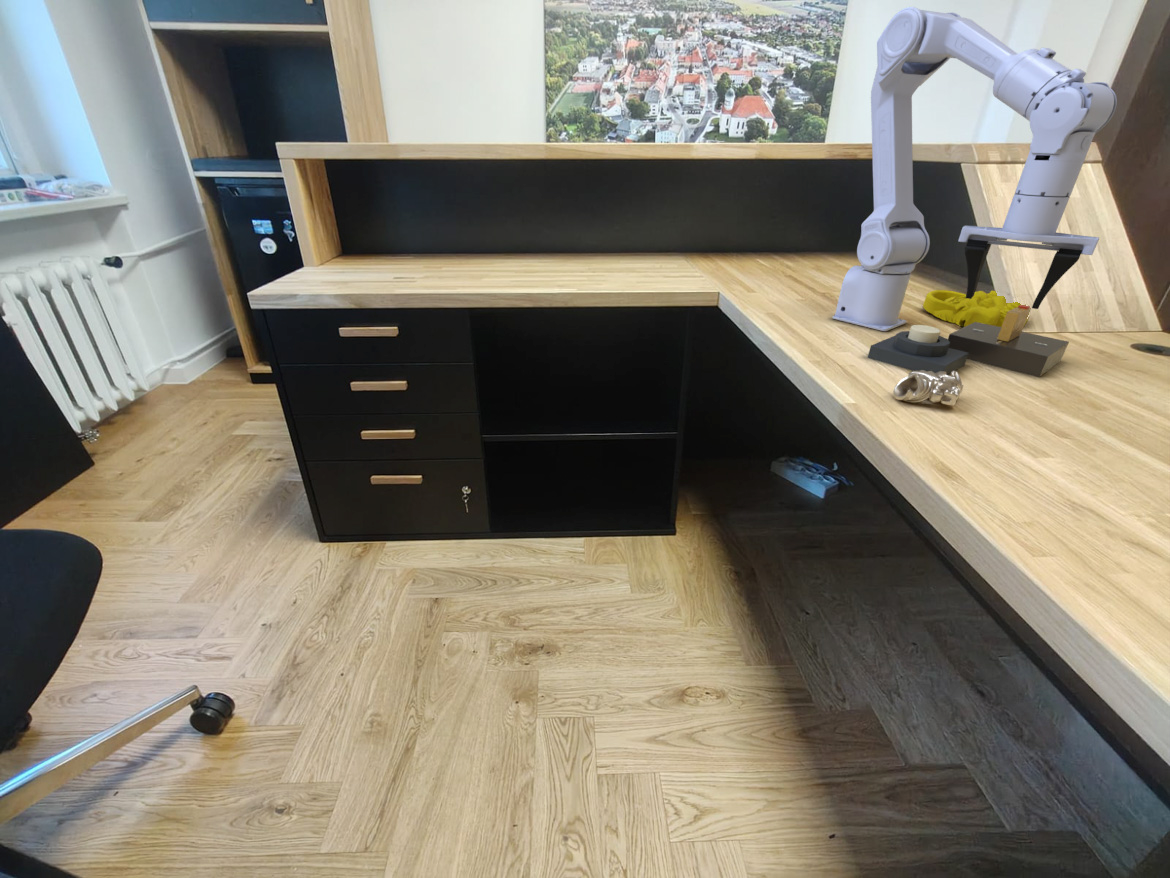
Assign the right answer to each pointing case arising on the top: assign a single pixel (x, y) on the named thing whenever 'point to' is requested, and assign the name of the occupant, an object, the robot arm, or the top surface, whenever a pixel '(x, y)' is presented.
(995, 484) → the top surface
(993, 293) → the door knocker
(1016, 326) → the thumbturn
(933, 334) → the bell button
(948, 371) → the doorbell
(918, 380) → the ornament
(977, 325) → the plate
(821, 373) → the top surface
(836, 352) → the top surface
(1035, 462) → the top surface
